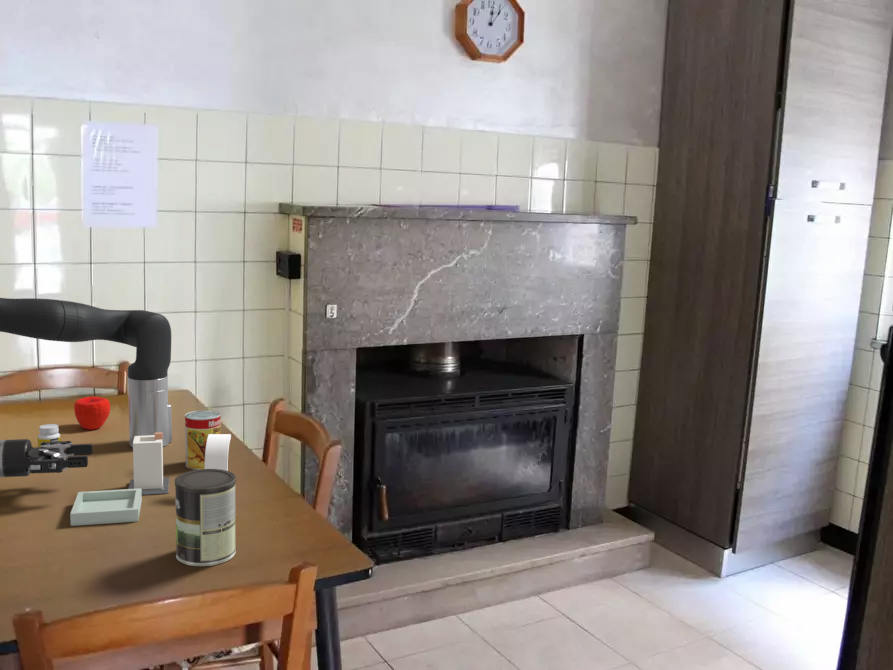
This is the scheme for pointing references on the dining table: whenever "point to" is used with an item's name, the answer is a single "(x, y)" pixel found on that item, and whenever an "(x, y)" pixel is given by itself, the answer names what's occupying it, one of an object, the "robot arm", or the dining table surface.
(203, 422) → the canned food
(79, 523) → the tray
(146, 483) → the open-top white box
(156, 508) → the dining table surface
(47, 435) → the supplement bottle
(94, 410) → the apple
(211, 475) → the coffee can
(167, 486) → the post
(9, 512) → the dining table surface
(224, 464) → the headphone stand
